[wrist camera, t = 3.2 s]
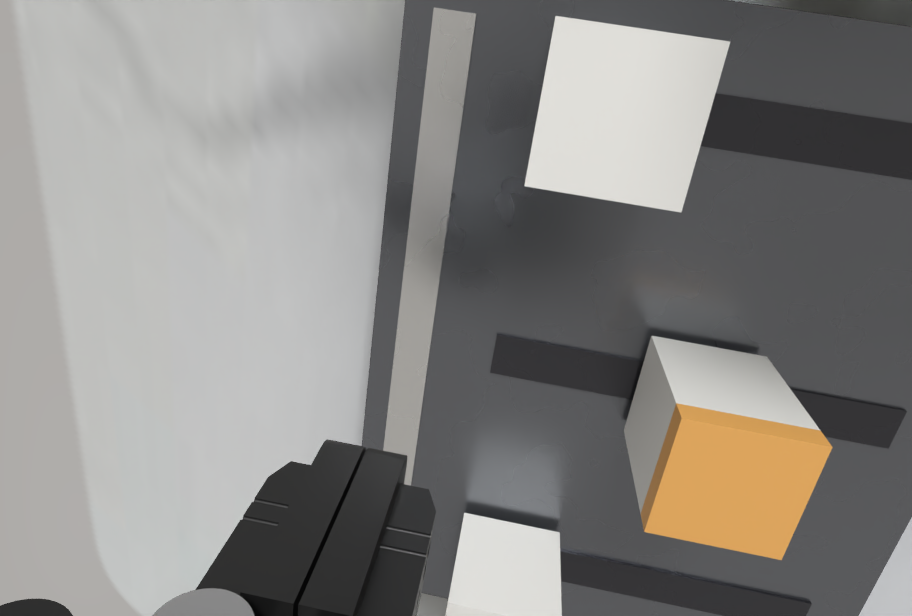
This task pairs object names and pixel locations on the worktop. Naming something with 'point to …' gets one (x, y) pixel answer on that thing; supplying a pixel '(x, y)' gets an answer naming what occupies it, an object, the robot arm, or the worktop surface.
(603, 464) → the breaker panel
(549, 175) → the block
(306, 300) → the worktop surface
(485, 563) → the breaker far
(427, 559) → the robot arm
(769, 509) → the block
